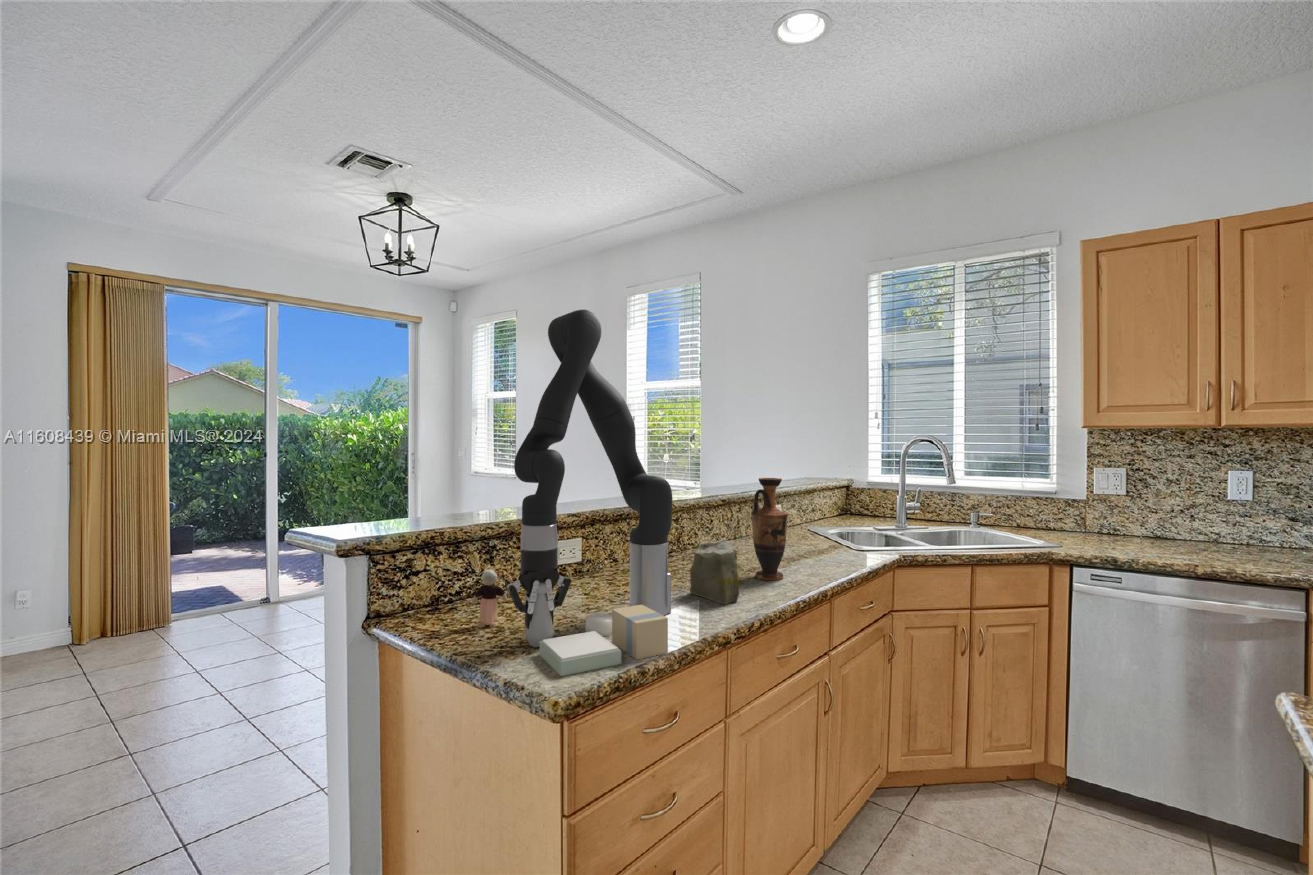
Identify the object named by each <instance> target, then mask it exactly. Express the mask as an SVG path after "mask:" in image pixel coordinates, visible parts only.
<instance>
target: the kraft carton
mask: <svg viewBox="0 0 1313 875" xmlns="http://www.w3.org/2000/svg"><path fill="white" fill-rule="evenodd" d="M611 616H612V635H611V643H612V644H614V645H615V646H617V647H618V648H619V649H620V650H621V651H623V652H625V653H626V654H627V655H628V656H630V657H631V658H633V659H635V660H637V661H638V660H641V659H647V658H651V657H656V655H657V656H661V655H666V654H669V645H668V644H669V642H668V641H669V640H668V638H669V624H668V623H669V621H668V620H669V618H668V617H667V616H665V615H664V616H663V615H662V614H660V613H658V612H655V611H653V610H651V609H649V608H648V607H646V606H644V605H636V606H630V605H629V606H623V607H618V608H612V609H611Z"/></svg>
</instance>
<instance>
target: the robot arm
mask: <svg viewBox="0 0 1313 875" xmlns="http://www.w3.org/2000/svg"><path fill="white" fill-rule="evenodd" d="M547 336H548V341H549V343H550V347H551V349H552V350H553V352H554V354H555V356H556V357H557V359H558V360H559V362H560V364H559V367H558V368H557V371H556V372H555V374H554V376H553V377H552V378H551V380H550V382H549V383H548V385H547V386H546V388H545V390H544V392H543V394H542V396H541V398H540V401H539V403H538V408H537V410H536V413H535V414H536V415H535V416H534V421H533V425H532V426H531V429H530V430H529V431H528V433H527V435H526V437H525V438H524V440H523V442H522V444H521V445H520V446H519V449H518V450H517V452H516V455H515V458H514V464H513V466H514V468H513V469H514V474H515V475H516V478H518V480H519V481H521V482H524V483H529V484H530V483H531V484H537V488H536V491H535V493H534V494H529V495H526V496H525V497H524V498H523V499H522V503H521V521H522V522H521V531H520V574H519V575H518V579H517V580H515V581H514V582H512V583H511V582H509V583H506V586H505V587H506V590H507V592H508V594H509V596H510V599H511V600H512V603H513V604H514V605H513V606H514V607H515V608H516V610H518V612H520V613H524V626H525V629H526V628H527V629H529V625H530V620H531V621H532V617H533V614H532V613H533V610H534V604H535V602H536V597H537V591H536V589H538V587H539V583H542V582H544V583H545V585H546V587H548V592H547V593H546V595H547V596H546V597H547V602H548V608H549V610H550V615H551V618H552V623H553V624H554V611H555V609H556V608H558V607H562V605H563V604H564V601H565V598H566V596H567V594H568V591H569V588H570V586H571V583H572V580H571V578H569V577H567V576H565V575H564V576H562V575H560V572H559V569H558V564H559V560H558V556H559V554H558V553H559V552H558V550H559V548H558V547H559V546H558V545H559V539H558V528H557V527H558V525H557V520H558V518H557V516H558V515H557V503H558V500H559V497H560V492H561V488H562V485H563V481H564V477H565V472H566V471H565V470H566V466H565V460H564V458H563V456H562V455H561V453H560V452H559V451H558V450H555V449H549V447H551V446H552V445H554V444H556V443H559V442H562V441H563V440H564V439H565V436H566V433H567V431H568V426H569V423H570V419H571V415H572V412H573V408H574V405H575V401H576V399H577V396H578V397H579V398H580V401H581V402H582V404H583V406H584V409H585V411H586V413H587V415H588V419H589V420H590V422H591V425H592V427H593V429H594V431H595V433H596V435H597V437H598V439H599V441H600V442H601V445H602V447H603V449H604V451H605V453H606V456H607V458H608V460H609V462H610V464H611V466H612V470H613V471H614V474H615V477H616V479H617V483H618V486H619V488H620V491H621V494H622V498H623V500H624V501H625V503H626V505H627V506H628V508H630V509H631V510H632V511H635V512H637V513H639V516H638V524H637V526H636V527H634V528H632V529H631V530H630V532H629V606H636V605H644V606H646V607H648V608H649V609H651V610H653V611H655V612H658V613H660V614H662V615H663V616H665V615H667V614H671V613H672V574H671V572H668V570H669V564H668V562H669V558H668V557H669V556H668V555H669V554H668V552H669V551H668V549H669V547H668V545H669V544H668V540H669V535H670V531H671V528H672V519H673V515H672V514H673V492H672V491H673V490H672V487H671V485H670V482H668V480H666V479H665V478H663V477H661V476H656V475H649V474H647V472H646V471H645V468H644V467H643V465H642V462H641V460H640V459H639V458H640V457H639V456H638V452H637V446H636V445H637V443H636V440H637V438H636V426H635V422H634V418H633V415H632V413H631V411H630V409H629V406H628V404H627V402H626V400H625V398H624V397H623V396H622V394H621V393H620V392H619V390H618V389H617V388H615V386H614V385H612V384H611V383H610V382H609V381H608V380H607V379H605V377H604V376H602V374H600V372H599V371H598V370H597V368H596V367H595V365H594V364H593V362H592V360H593V357H594V356H595V353H596V351H597V348H598V346H599V343H600V341H601V338H602V325H601V323H600V320H599V318H598V317H597V316H596V314H595V313H594V312H592V311H591V310H588V309H578V310H573V311H571V312H568V313H565V314H563V315H560V316H558V317H556V318H554V319H552V321H550V323H549V325H548V329H547ZM556 584H557V585H558V588H557V590H556V592H555V595H554V594H553V593H554V592H553V589H554V588H555V586H556ZM521 586H522V588H523V589H524V591H525V595H524V596H525V597H524V598H525V599H524V603H523V601H522V599H521V596H520V594H519V592H520V590H521V588H520V587H521Z"/></svg>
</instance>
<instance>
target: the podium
mask: <svg viewBox="0 0 1313 875" xmlns="http://www.w3.org/2000/svg"><path fill="white" fill-rule="evenodd" d="M539 656H540V657H541V658H542V659H543V660H544V661H545V662H546V663H547V664H548V665H549V666H550V667H551V668H552V669H553V670H554V671H555V672H556V673H557V674H558V675H559V676H560V677H564V676H569V675H575V674H579V673H583V672H588V671H594V670H599V669H604V668H607V667H614V666H617V665H618V664H619V665H621V664H622V649H620V648H619V647H618V646H616V645H615V644H613V643H612V641H609V640H608V639H607V638H606V637H605V636H604V637H603V636H601V635H600V634H598V633H597V632H596V631H591V632H586V633H585V632H580V633H575V634H569V635H564V636H557V637H552V638H551V639H545V640H542V641H541V642H540V647H539ZM619 665H618V666H619Z"/></svg>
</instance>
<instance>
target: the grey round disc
mask: <svg viewBox="0 0 1313 875" xmlns="http://www.w3.org/2000/svg"><path fill="white" fill-rule="evenodd" d="M591 631H596V632H597V633H598V634H600V635H601V636H603V637H604V638H605V637H609V636H612V614H608V613H607V614H606V613H593V614H589V615H587V616H585V630H584V633H586V632H591Z"/></svg>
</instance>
